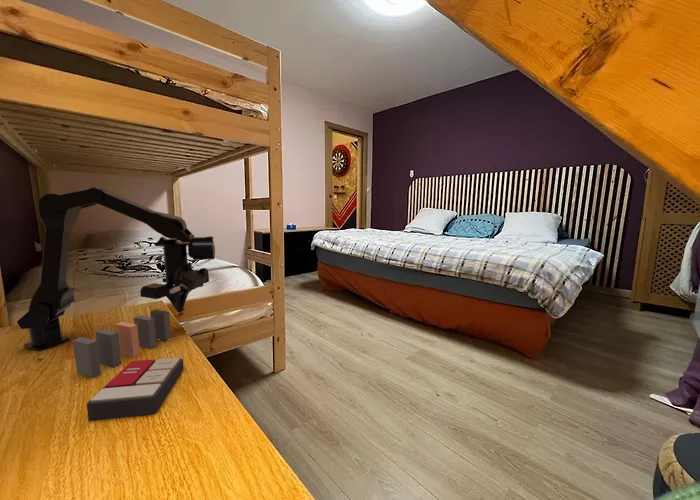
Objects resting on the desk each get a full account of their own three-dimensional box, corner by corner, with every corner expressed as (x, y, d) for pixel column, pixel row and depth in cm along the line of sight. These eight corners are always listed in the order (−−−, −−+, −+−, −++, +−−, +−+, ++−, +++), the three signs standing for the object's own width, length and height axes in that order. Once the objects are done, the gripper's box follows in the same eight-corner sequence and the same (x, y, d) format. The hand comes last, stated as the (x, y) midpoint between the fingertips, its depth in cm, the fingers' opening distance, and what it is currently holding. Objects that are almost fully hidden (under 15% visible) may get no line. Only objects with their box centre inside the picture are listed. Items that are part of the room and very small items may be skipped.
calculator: (183, 355, 68) (154, 393, 54) (184, 372, 69) (155, 415, 54) (130, 359, 66) (84, 400, 52) (131, 377, 67) (86, 422, 52)
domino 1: (77, 373, 66) (72, 340, 64) (85, 369, 67) (80, 337, 66) (92, 378, 64) (88, 344, 63) (100, 374, 66) (96, 340, 64)
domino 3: (119, 354, 74) (115, 324, 73) (125, 351, 76) (122, 321, 74) (133, 357, 73) (130, 327, 71) (140, 354, 74) (137, 324, 73)
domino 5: (152, 338, 83) (150, 311, 81) (157, 336, 84) (155, 309, 83) (166, 341, 81) (163, 313, 80) (171, 339, 83) (169, 311, 81)
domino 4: (136, 345, 78) (133, 317, 77) (142, 343, 80) (139, 315, 79) (150, 349, 77) (148, 320, 76) (156, 346, 79) (154, 318, 77)
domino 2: (99, 363, 70) (95, 331, 69) (106, 359, 72) (102, 328, 70) (114, 367, 69) (110, 335, 67) (121, 363, 70) (118, 332, 69)
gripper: (169, 270, 74) (173, 328, 77) (222, 257, 92) (224, 305, 94) (136, 266, 77) (141, 322, 80) (193, 254, 95) (196, 300, 98)
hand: (179, 311), depth 88 cm, fingers closed
